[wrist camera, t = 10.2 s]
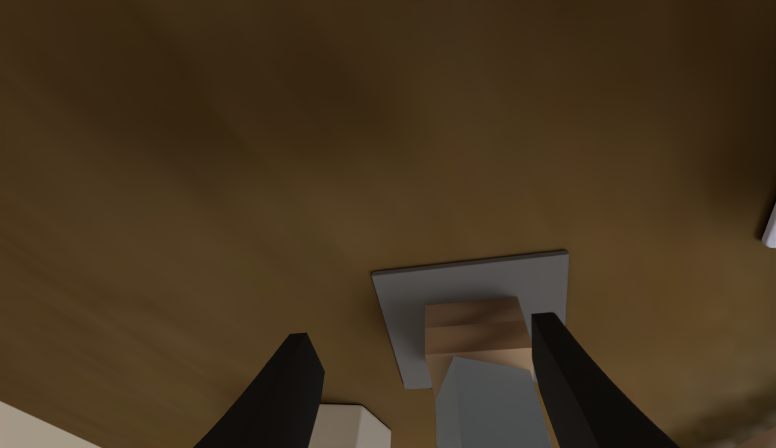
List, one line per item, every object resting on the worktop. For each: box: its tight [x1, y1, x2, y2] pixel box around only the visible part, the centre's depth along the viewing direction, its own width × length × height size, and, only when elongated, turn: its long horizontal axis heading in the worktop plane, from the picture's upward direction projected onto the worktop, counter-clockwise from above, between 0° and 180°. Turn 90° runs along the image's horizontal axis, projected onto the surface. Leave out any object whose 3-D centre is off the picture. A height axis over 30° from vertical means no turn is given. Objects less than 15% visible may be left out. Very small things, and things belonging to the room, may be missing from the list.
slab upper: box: [425, 320, 534, 399], centre depth 23 cm, size 6×6×2 cm
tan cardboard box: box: [425, 297, 525, 328], centre depth 24 cm, size 6×6×2 cm
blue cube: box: [436, 356, 552, 448], centre depth 20 cm, size 4×4×5 cm
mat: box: [372, 250, 569, 389], centre depth 25 cm, size 12×12×1 cm
